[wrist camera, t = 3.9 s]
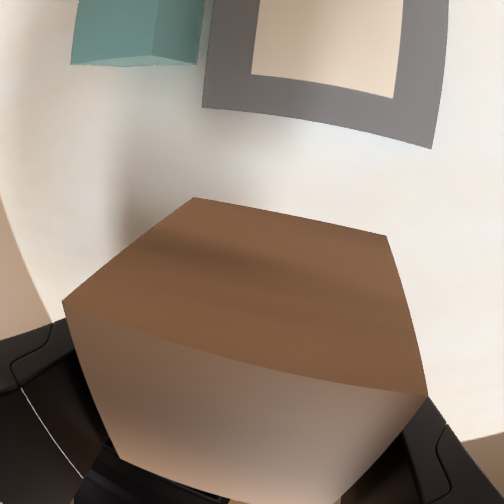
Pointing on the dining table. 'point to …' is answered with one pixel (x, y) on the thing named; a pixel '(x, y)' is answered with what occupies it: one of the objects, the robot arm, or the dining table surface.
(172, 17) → the teal block
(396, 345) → the walnut block
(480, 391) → the dining table surface
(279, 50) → the grey square frame
